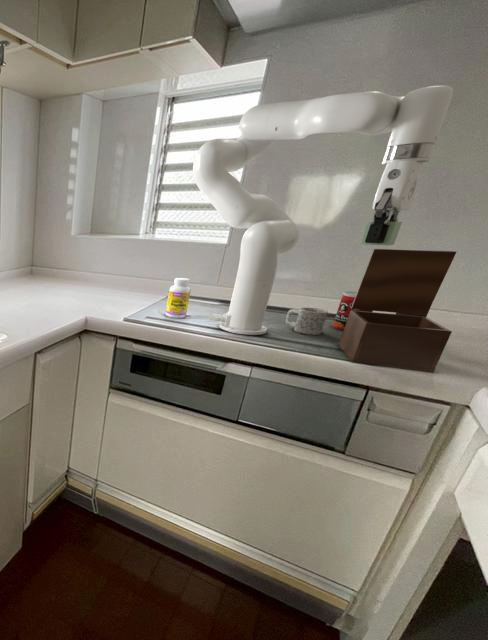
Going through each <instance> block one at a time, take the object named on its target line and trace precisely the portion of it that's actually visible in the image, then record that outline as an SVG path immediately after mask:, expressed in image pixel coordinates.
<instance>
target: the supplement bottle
mask: <svg viewBox="0 0 488 640" xmlns="http://www.w3.org/2000/svg"><path fill="white" fill-rule="evenodd" d="M190 280H191V279H190V278H186V277H175V278H174V280H173V283H174V284H173V285H171V286H170V287H169V291H168V296H167V301H166V307H165V316H167V317H169V318H174V319H175V318H176V319H182V318H186V316H187V312H188V306H189V302H190V297H191V291H192V289H191V287H189V284H190Z"/></svg>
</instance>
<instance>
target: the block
mask: <svg viewBox="0 0 488 640" xmlns="http://www.w3.org/2000/svg"><path fill="white" fill-rule="evenodd" d="M371 222H372V221H367V222H366V225H365V228H364V231H363V234H362V237H361V240H360V245H365V246H367V245H368V246H392V245H393V246H394V245H395V243H396V241H397V237H398V235H399V232H400V229H401V226H402V223H403V221H397V222H388V224H387V225H389V228H388V231H387V234H386V236H385V239H384V242H383V243H366V242H365V240H366V237H367V234H368V231H369V228H370V225H371Z"/></svg>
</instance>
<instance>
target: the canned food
mask: <svg viewBox="0 0 488 640" xmlns="http://www.w3.org/2000/svg"><path fill="white" fill-rule="evenodd" d="M356 294H357V291H353V290H352V291H351V290H350V291H344V292H343V293H342V296H341V298H340V302H339V305H338V307H337V311H336V314H335V317H334V320H333V323H332V327H333V329H335V330H338V331H342V332H343V331H344V328H345V325H346V322H347V319H348V317H349V314H350V311H351V310H353V311H365V312H374V311H370V310H358V309H351V307H352V304H353V301H354V299H355V296H356Z"/></svg>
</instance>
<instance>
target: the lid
mask: <svg viewBox="0 0 488 640" xmlns="http://www.w3.org/2000/svg"><path fill="white" fill-rule="evenodd" d="M456 254H457V251H456V250H435V249H433V250H432V249H404V248H403V249H401V248H399V249H398V248H373V249H372V252H371V255H370V257H369V259H368V262H367V265H366V267H365V269H364V273H363V276H362V278H361V281H360V283H359V285H358V289H357V291H356V292H357V294H356V296H355V299H354V301H353V304H352V307H351V309H358V310H370V311H373V312H381V313H393V314H396V313H406V314H418V315H427V316H428V314H429V312H430V310H431V307H432V306H433V303H434V301H435V299H436V297H437V295H438V293H439V290H440V288H441V286H442V284H443V282H444V279H445V278H446V276H447V273H448V271H449V269H450V267H451V265H452V263H453V261H454V258H455V256H456ZM429 309H430V310H429ZM428 311H429V312H428ZM427 313H428V314H427Z"/></svg>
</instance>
